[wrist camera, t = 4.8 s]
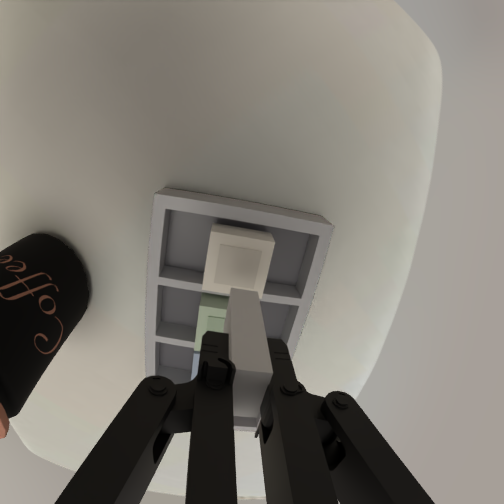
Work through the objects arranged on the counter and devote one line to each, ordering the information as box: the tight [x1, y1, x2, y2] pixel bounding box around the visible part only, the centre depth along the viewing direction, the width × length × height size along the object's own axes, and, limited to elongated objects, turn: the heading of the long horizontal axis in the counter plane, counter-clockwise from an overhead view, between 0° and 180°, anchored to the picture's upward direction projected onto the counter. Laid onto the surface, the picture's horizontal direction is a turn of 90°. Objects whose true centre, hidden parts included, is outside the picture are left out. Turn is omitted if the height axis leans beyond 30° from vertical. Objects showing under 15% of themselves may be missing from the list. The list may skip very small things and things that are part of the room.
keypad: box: [145, 188, 334, 432], centre depth 27 cm, size 26×14×3 cm, turn 169°
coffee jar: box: [0, 234, 89, 439], centre depth 17 cm, size 11×11×18 cm
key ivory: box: [202, 223, 275, 299], centre depth 22 cm, size 5×5×2 cm
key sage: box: [194, 292, 229, 351], centre depth 24 cm, size 5×5×3 cm
